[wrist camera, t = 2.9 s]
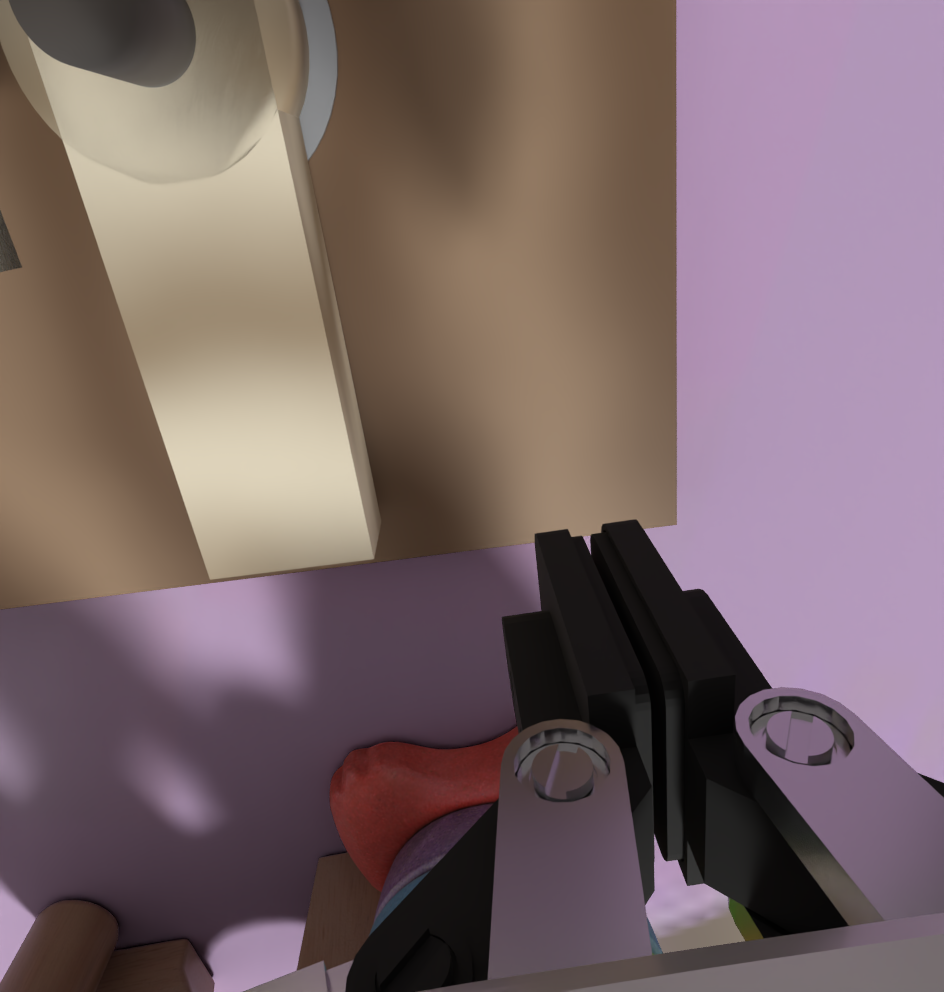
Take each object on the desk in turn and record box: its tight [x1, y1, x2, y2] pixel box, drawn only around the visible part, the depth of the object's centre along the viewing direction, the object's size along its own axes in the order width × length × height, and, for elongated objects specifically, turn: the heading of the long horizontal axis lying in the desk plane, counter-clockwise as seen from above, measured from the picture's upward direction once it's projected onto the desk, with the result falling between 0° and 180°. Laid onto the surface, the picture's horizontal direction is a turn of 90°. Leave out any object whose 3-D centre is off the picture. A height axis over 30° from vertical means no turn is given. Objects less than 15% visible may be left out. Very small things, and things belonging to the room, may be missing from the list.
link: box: [0, 0, 381, 580], centre depth 14 cm, size 14×5×4 cm, turn 7°
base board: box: [0, 0, 677, 609], centre depth 16 cm, size 26×18×2 cm
